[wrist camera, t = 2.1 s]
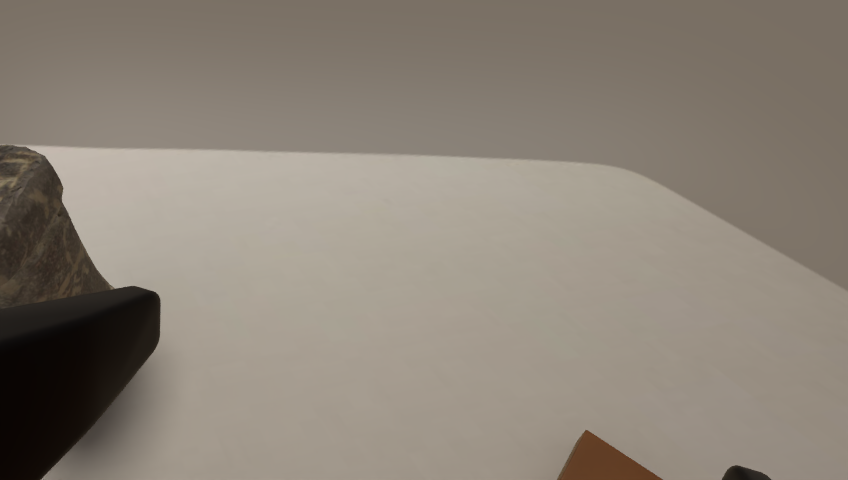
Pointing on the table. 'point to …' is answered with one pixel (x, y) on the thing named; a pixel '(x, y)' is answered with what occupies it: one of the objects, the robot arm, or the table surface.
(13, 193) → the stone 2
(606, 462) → the grid board
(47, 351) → the robot arm
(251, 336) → the table surface
